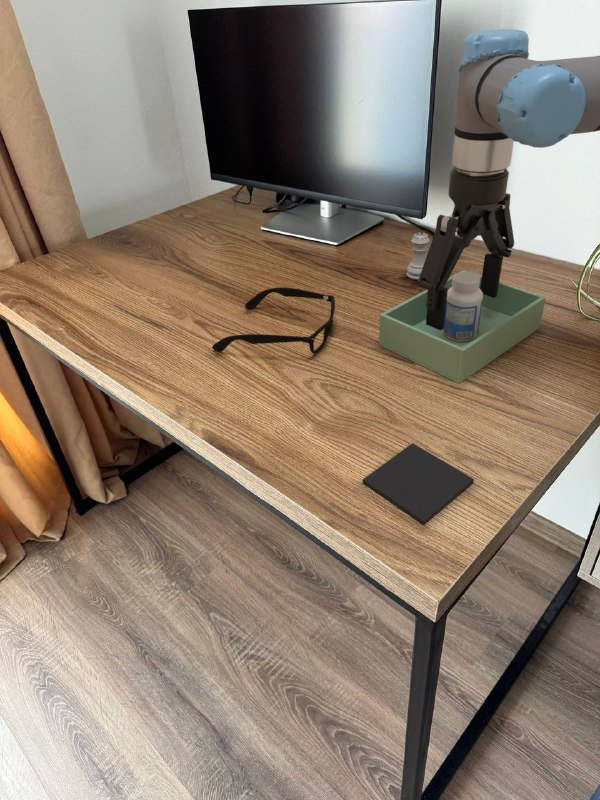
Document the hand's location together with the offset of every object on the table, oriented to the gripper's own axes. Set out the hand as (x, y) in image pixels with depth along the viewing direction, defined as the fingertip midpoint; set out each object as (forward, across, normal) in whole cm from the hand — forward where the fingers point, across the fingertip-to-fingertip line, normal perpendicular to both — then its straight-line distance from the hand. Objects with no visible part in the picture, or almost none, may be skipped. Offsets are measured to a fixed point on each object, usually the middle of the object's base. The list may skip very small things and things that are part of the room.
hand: (462, 310), depth 90 cm
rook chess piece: (+5, -13, -19) cm, 23 cm away
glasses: (+5, +19, -22) cm, 29 cm away
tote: (+5, 0, 0) cm, 5 cm away
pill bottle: (+4, 0, 0) cm, 4 cm away
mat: (+4, +30, +16) cm, 34 cm away
